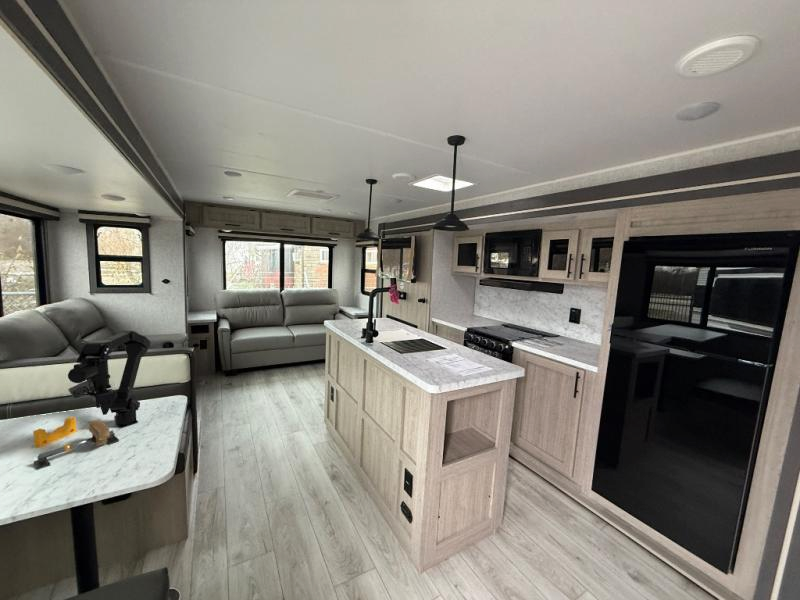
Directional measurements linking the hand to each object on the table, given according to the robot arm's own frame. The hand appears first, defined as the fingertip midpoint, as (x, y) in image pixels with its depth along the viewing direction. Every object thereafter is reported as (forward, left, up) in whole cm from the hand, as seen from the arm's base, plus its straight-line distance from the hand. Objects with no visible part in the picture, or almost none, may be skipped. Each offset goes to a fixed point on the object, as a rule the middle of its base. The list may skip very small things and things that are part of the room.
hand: (101, 411), depth 128 cm
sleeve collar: (+2, +3, -12) cm, 13 cm away
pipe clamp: (+11, -17, -13) cm, 24 cm away
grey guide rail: (+8, +3, -12) cm, 15 cm away
